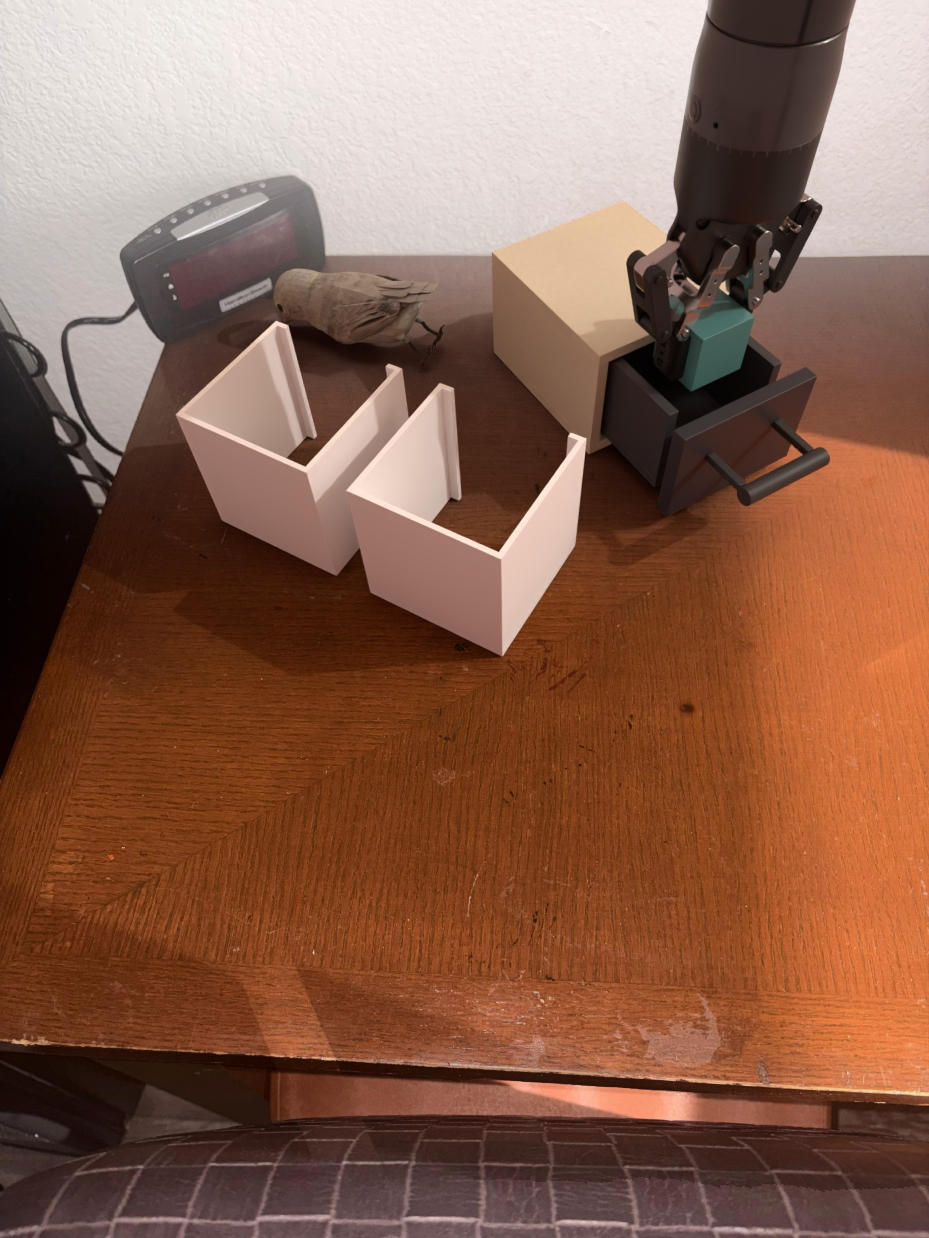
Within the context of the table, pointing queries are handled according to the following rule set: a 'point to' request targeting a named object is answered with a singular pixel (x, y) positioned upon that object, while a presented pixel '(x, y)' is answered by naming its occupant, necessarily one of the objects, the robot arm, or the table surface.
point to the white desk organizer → (374, 493)
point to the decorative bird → (354, 305)
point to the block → (716, 341)
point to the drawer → (709, 427)
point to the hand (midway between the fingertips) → (697, 359)
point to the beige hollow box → (571, 311)
